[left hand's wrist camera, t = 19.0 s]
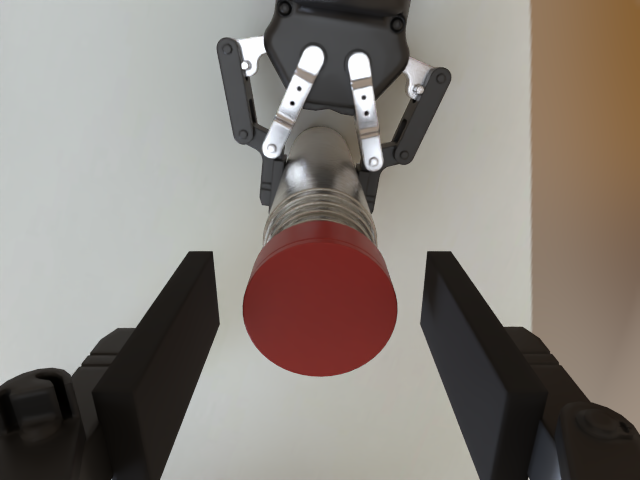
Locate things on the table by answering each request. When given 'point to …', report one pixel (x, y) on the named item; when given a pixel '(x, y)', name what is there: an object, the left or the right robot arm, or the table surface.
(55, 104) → the table surface
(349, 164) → the bottle
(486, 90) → the table surface
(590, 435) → the left robot arm
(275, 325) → the cap
